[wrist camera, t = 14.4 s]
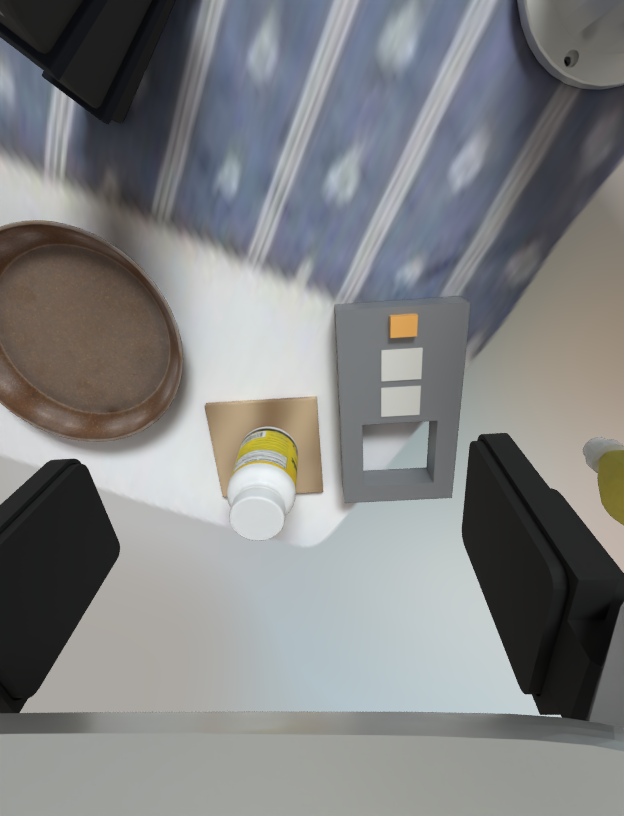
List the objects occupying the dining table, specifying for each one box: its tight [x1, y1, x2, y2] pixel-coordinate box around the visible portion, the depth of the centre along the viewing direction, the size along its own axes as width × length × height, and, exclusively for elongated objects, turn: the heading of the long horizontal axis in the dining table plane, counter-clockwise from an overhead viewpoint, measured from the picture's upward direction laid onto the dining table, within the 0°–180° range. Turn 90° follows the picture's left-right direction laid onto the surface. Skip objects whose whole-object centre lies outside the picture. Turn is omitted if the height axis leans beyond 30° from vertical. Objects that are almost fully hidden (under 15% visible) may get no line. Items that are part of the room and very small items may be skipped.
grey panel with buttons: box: [335, 296, 471, 503], centre depth 35 cm, size 10×18×3 cm, turn 4°
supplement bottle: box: [227, 426, 298, 541], centre depth 33 cm, size 5×5×10 cm
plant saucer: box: [0, 220, 183, 442], centre depth 33 cm, size 18×18×3 cm
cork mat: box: [205, 397, 323, 497], centre depth 38 cm, size 10×10×1 cm
